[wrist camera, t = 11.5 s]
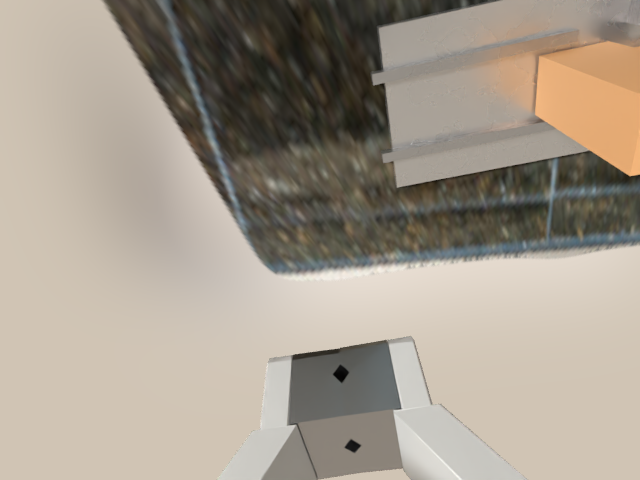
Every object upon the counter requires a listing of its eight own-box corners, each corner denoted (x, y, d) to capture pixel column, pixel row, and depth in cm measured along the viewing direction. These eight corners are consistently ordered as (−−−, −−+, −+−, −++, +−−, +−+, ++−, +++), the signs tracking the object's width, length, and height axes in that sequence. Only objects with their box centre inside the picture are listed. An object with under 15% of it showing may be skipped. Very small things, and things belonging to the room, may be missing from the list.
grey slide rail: (384, 184, 39) (394, 214, 34) (363, 29, 32) (373, 39, 27) (631, 137, 37) (677, 161, 32) (666, -39, 30) (731, -40, 25)
